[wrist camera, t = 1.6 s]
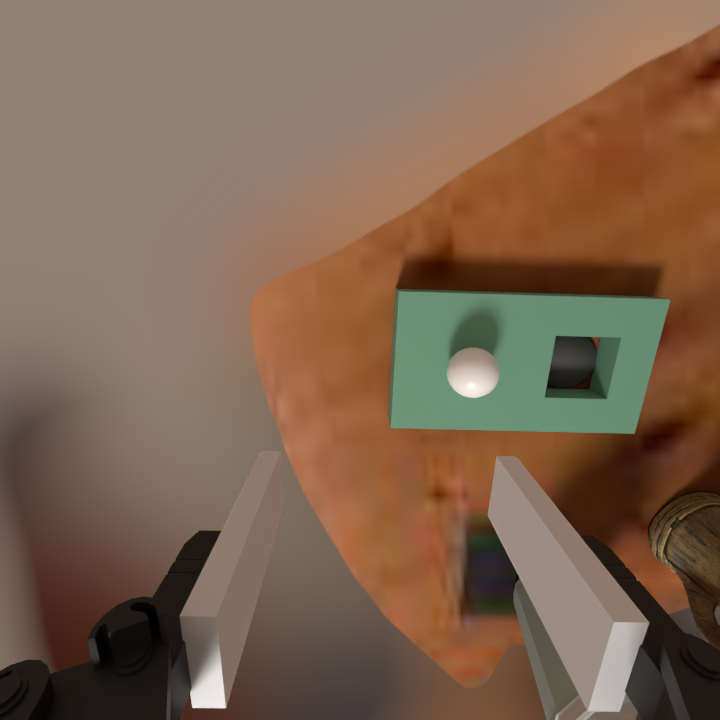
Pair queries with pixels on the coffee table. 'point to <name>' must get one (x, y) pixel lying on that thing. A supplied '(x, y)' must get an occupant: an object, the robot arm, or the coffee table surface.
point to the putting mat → (524, 359)
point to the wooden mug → (693, 554)
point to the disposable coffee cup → (555, 670)
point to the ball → (473, 372)
